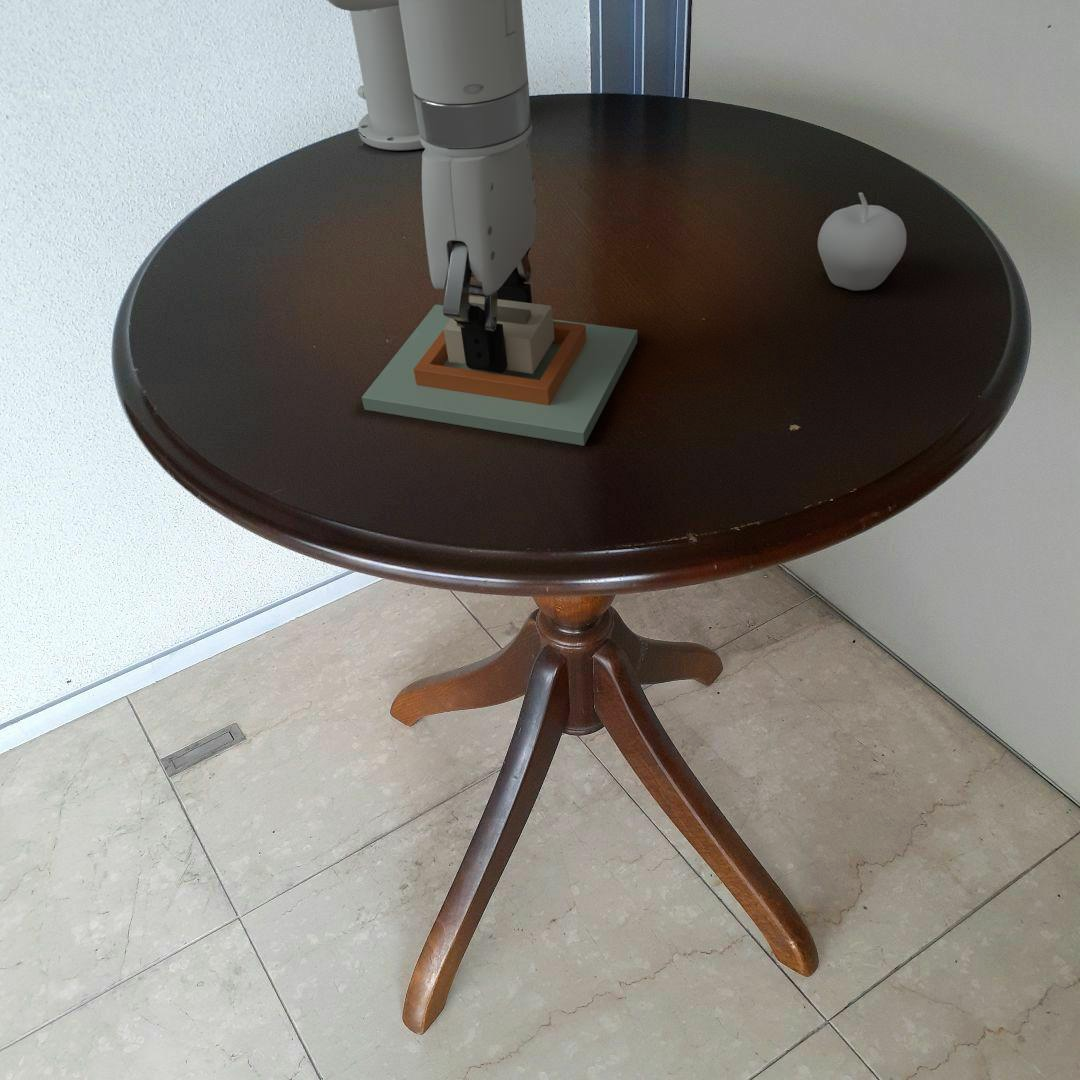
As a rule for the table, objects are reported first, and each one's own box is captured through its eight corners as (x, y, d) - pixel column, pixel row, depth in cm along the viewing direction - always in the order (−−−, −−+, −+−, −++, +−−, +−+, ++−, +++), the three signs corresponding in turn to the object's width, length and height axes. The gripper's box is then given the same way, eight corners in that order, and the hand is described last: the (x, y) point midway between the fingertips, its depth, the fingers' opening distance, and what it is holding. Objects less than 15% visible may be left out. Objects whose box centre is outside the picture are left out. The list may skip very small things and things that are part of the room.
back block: (448, 362, 79) (442, 321, 77) (473, 328, 83) (467, 288, 80) (533, 374, 77) (529, 333, 75) (555, 339, 81) (551, 298, 78)
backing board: (364, 409, 80) (357, 381, 78) (437, 316, 89) (432, 288, 87) (584, 446, 74) (582, 416, 73) (637, 342, 84) (637, 313, 82)
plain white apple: (804, 264, 91) (814, 177, 85) (885, 257, 91) (900, 169, 85) (823, 305, 86) (835, 215, 80) (909, 298, 86) (927, 207, 80)
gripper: (470, 63, 74) (496, 288, 87) (364, 162, 63) (411, 404, 75) (569, 68, 72) (581, 298, 85) (476, 171, 61) (506, 419, 73)
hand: (500, 346), depth 80 cm, fingers closed on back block, 5 cm apart
